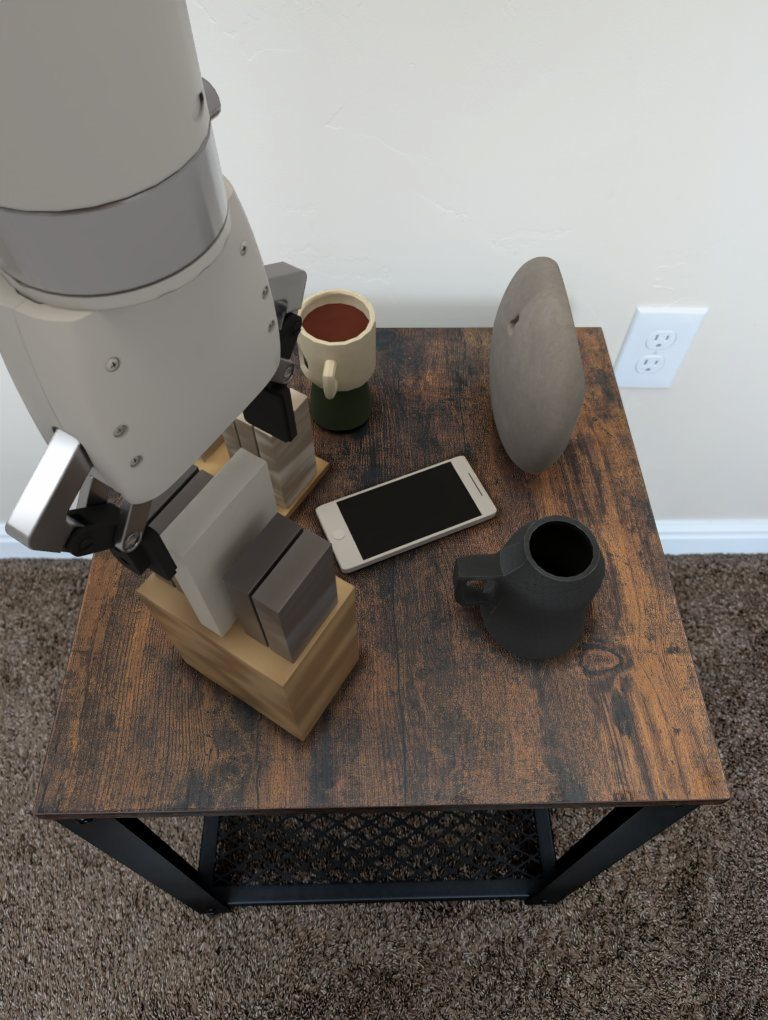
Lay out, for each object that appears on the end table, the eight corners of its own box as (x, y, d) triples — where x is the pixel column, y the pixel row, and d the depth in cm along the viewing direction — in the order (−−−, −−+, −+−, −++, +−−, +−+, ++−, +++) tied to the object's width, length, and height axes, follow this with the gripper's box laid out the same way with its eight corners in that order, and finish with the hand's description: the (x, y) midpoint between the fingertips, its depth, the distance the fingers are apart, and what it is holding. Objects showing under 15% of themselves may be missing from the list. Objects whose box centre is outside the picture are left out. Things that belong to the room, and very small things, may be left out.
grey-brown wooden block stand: (165, 461, 69) (128, 378, 58) (217, 408, 72) (191, 320, 62) (280, 528, 65) (262, 451, 55) (329, 468, 68) (321, 385, 58)
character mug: (315, 369, 75) (304, 270, 64) (381, 374, 75) (382, 276, 64) (298, 451, 69) (283, 358, 58) (369, 457, 69) (368, 365, 58)
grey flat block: (200, 623, 45) (154, 540, 36) (267, 542, 48) (240, 446, 39) (222, 638, 44) (181, 557, 35) (288, 555, 48) (267, 461, 38)
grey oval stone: (567, 510, 66) (629, 373, 50) (493, 513, 66) (530, 376, 50) (535, 364, 76) (577, 210, 60) (469, 366, 76) (495, 212, 60)
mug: (575, 560, 63) (611, 493, 54) (594, 658, 59) (637, 603, 49) (443, 563, 63) (454, 496, 53) (451, 661, 58) (465, 607, 49)
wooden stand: (185, 662, 58) (94, 530, 39) (245, 588, 62) (188, 434, 43) (303, 741, 55) (265, 639, 36) (359, 658, 58) (351, 525, 40)
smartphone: (315, 512, 66) (314, 506, 65) (462, 459, 69) (463, 453, 68) (343, 575, 62) (343, 570, 61) (497, 516, 66) (498, 511, 65)
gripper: (190, 39, 27) (259, 358, 41) (-230, 311, 19) (37, 585, 34) (356, 97, 24) (366, 411, 39) (-42, 430, 17) (156, 666, 31)
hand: (214, 491), depth 36 cm, fingers open, 9 cm apart
